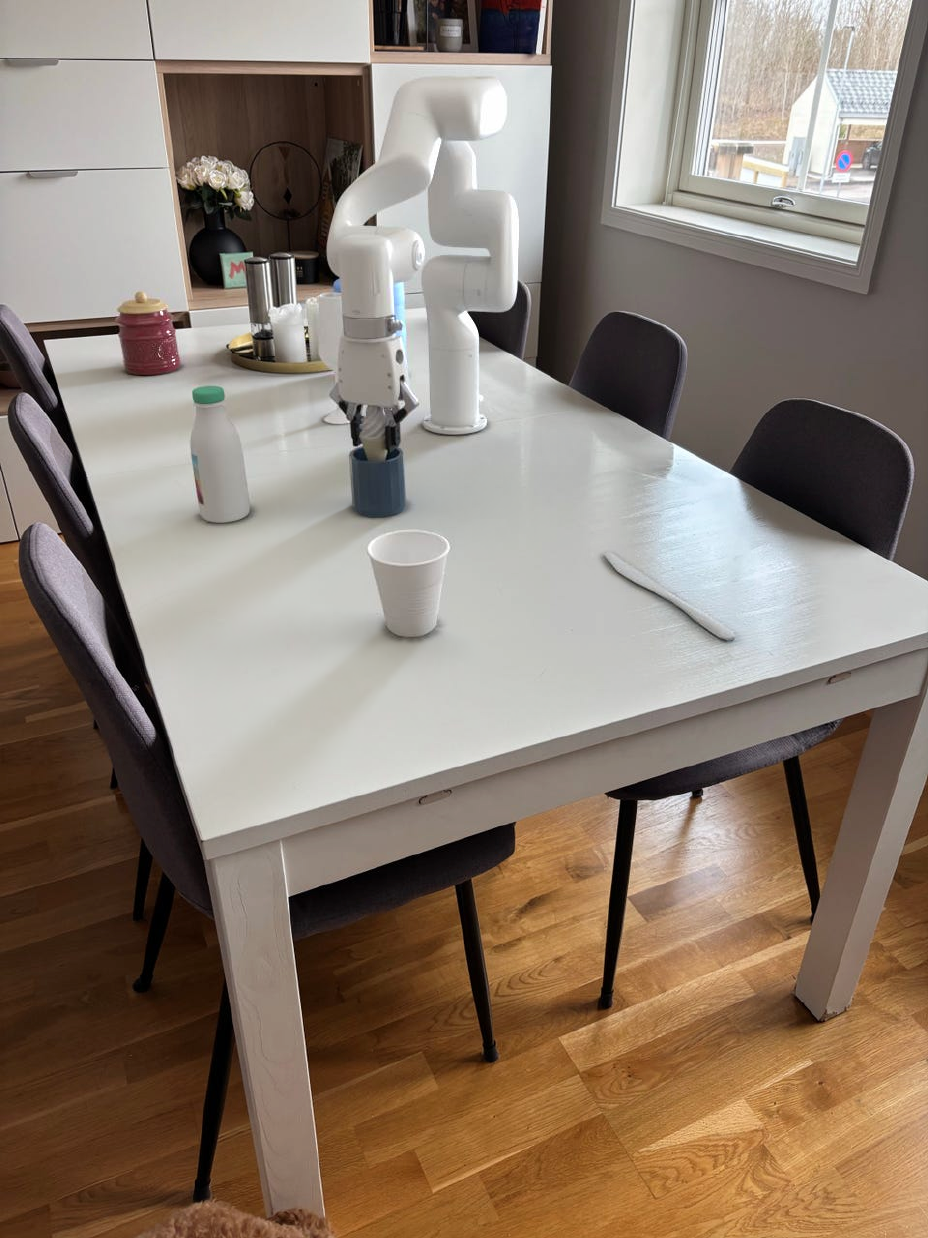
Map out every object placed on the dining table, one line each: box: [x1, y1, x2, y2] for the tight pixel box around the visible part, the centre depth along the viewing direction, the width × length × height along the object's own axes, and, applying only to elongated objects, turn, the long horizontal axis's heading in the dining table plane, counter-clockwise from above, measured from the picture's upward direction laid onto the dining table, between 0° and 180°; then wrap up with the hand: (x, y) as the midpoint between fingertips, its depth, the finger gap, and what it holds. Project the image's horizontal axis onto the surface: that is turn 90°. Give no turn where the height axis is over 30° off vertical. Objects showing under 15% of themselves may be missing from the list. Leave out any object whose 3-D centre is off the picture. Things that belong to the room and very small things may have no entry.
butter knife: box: [604, 552, 736, 641], centre depth 125 cm, size 1×27×3 cm
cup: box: [365, 529, 450, 638], centre depth 116 cm, size 10×10×11 cm
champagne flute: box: [318, 292, 350, 425], centre depth 186 cm, size 7×7×24 cm
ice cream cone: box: [359, 405, 388, 462], centre depth 147 cm, size 5×5×15 cm
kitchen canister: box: [114, 291, 181, 376], centre depth 222 cm, size 13×13×18 cm
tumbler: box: [348, 445, 407, 518], centre depth 150 cm, size 8×8×9 cm
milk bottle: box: [189, 385, 251, 524], centre depth 145 cm, size 8×8×20 cm
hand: (376, 445), depth 147 cm, fingers closed on ice cream cone, 5 cm apart
